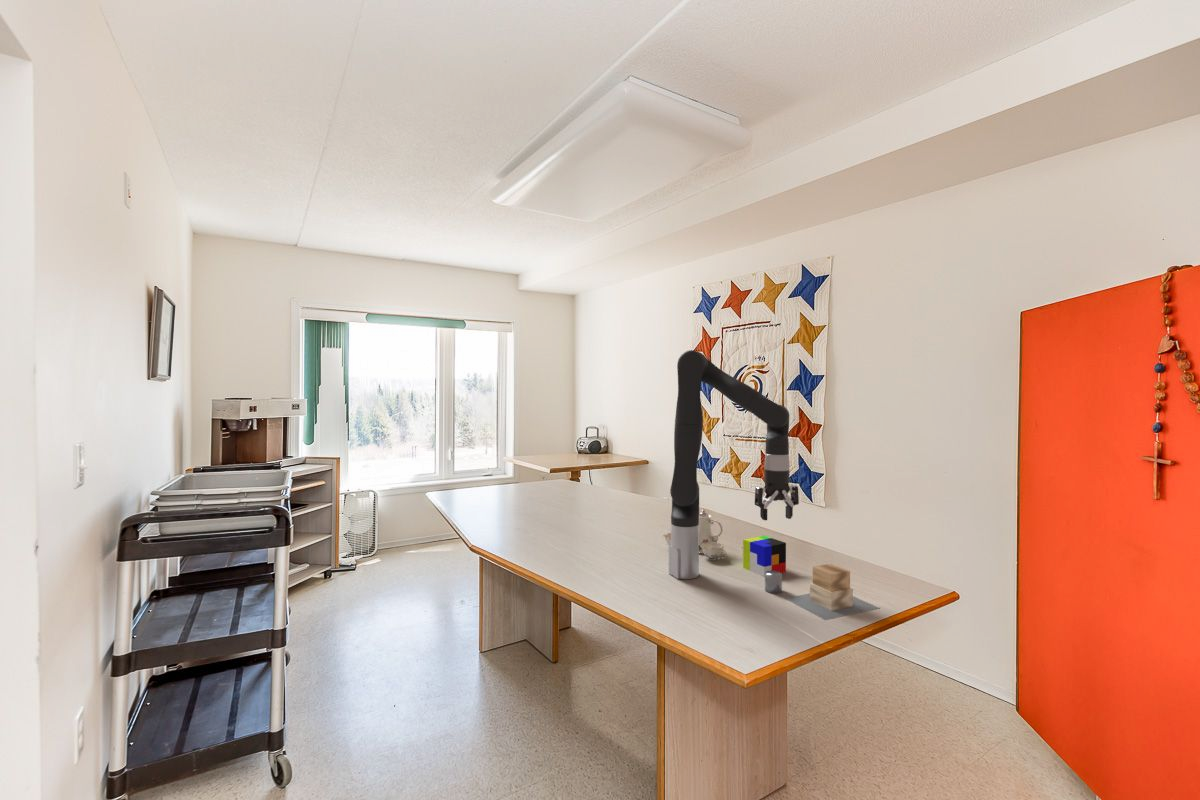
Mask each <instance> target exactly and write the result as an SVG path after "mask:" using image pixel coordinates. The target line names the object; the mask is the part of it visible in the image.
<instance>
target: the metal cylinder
mask: <svg viewBox="0 0 1200 800" xmlns="http://www.w3.org/2000/svg"><path fill="white" fill-rule="evenodd" d="M782 573H783V572H782ZM782 573H780V572H778V571H766V572H765V576H764V591H765V592H766V593H768V594H772V595H780V594H782V592H783V574H782Z"/></svg>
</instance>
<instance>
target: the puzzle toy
mask: <svg viewBox="0 0 1200 800" xmlns="http://www.w3.org/2000/svg"><path fill="white" fill-rule="evenodd" d="M742 541H743V542H742V543H743V544H742V547H743V548H742V551H743V552H742V556H743V557H742V566H743V567H742V568H743V569H745V570H748V571H750V572H753V573H755V574H757V575H759V576H762V577H765V572H766V571H778V572H780V573H786V572H787V542H784V541H782V540H779V539H775V538H774V537H770V536H767V535H760V536H755V537H750V538H744V539H743V540H742Z"/></svg>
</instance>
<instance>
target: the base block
mask: <svg viewBox="0 0 1200 800" xmlns="http://www.w3.org/2000/svg"><path fill="white" fill-rule="evenodd" d="M853 591H854V589H853V588H852V587H850V589H845V590H839V591H834V592H830V591H828V590H826V589H823V588H821V587H819V586H817V585H815V584H813V582H810V583H809V594H810V600H811V601H813V602H815V603H817V604H819V605H821V606H823V607H825V608H827V609H829V610H831V611H832V610H837V609H842V608H846V607H851V606H853V596H854V594H853V593H854V592H853Z"/></svg>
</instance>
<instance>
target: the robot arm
mask: <svg viewBox="0 0 1200 800" xmlns="http://www.w3.org/2000/svg"><path fill="white" fill-rule="evenodd" d="M676 365H677V366H676V369H677V400H676V407H675V418H674V430H673V431H674V432H673V433H674V438H673V439H674V440H673V441H674V442H673V449H674V450H673V451H674V467H673V474H672V479H671V485H670V492H669V493H670V497H671V515H670V533H671V545H668V574H669V573H670V575H671V576H672V575H673V576H672V577H674V578H675V579H677V580H678V579H683V580H691V579H696V578H699V575H700V574H699V573H700V568H699V567H700V565H699V564H700V560H699V559H700V553H699V513H700V485H699V483H698V475H697V474H698V471H697V470H698V461H699V460H698V459H699V455H700V450H701V447H702V441H703V440H702V438H703V428H704V427H703V426H704V414H703V407H702V401H701V386H702V383H705V384H706V385H708V386H711V387H712V388H714V389H715V390H717V391H718V392H719V393H721V394H722V395H723V396H725V397H726V398H727V399H729V400H730V401H731V402H732V403H734V404H735V405H738V406H739V407H740V408H742V409H744V410H745V411H747V412H749V413H750V414H753V415H754V416H755V417H757V418H758V419H759V420H761V422H763V423H764V424H766V439H765V453H764V454H765V456H764V476H763V477H764V480H763V481H764V487H761V486H756V487H755V489H754V505H755V507H758V508H760V511H759V512H760V514H759V515H760V518H761V520H762V521H768V507H769V506H770V504H771V503H772V502H773V501H775V502H777V501H783V502H784V503H785V518H786V519H788V520H792V518H793V513H794V512H793V510H794V507H795V506H796V505H797V506H798V505H799V504H800V501H799V499H800V498H799V486H797V485H794V484H791V485H789V484H790V471H791V470H790V468H791V467H790V463H791V462H790V455H789V453H790V443H789V441H790V440H789V432H790V431H789V430H790V411H789V410H788V408H786V407H785V406H784V405H782V404H778V403H776V402H775V401H773V400H771V399H769V398H767V397H766V396H764V394H763V393H762V392H760V391H758V390H757V389H755V388H753V387H751V386H750V385H748V384H746V383H745V382H743V381H741V380H739V379H737V378H735V377H734V376H731V375H730V374H728V373H726V372H725V371H723V370H722V369H721V368H719V367H718V366H716V364H714V363H713V362H711V360H709V359H708V358H707V357H706V355H704V354H703V353H701V352H700V351H697V350H686V351H684V352H683V353H682V354H680V356H679V358H678V360H677V364H676ZM789 492H790V496H789V495H788V493H789ZM763 495H764V496H763Z"/></svg>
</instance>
